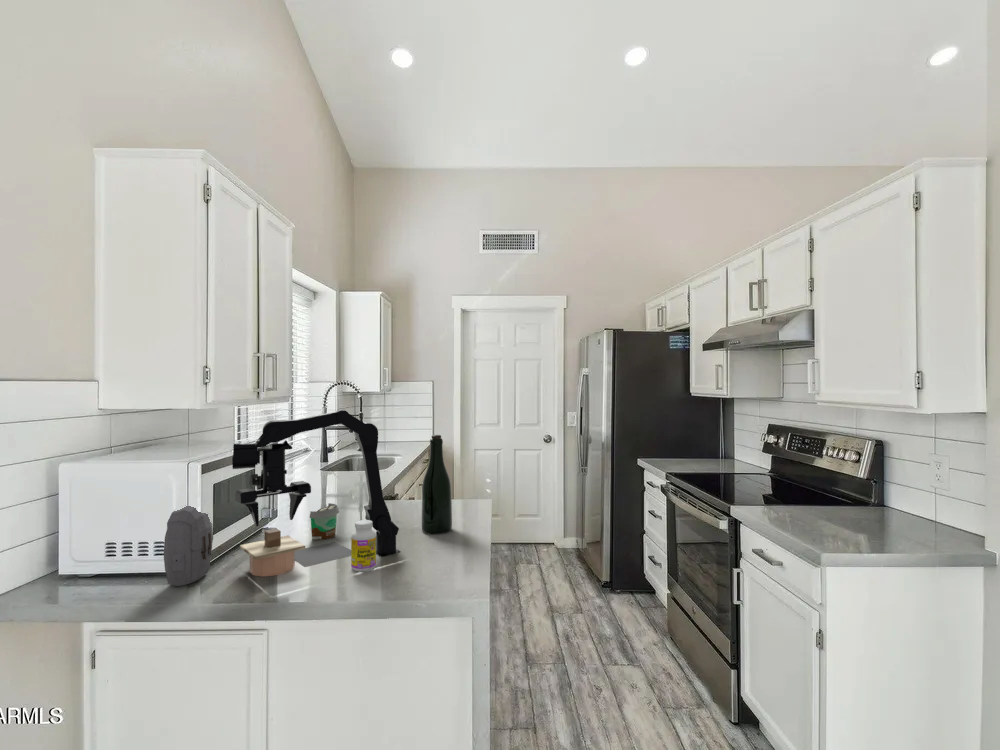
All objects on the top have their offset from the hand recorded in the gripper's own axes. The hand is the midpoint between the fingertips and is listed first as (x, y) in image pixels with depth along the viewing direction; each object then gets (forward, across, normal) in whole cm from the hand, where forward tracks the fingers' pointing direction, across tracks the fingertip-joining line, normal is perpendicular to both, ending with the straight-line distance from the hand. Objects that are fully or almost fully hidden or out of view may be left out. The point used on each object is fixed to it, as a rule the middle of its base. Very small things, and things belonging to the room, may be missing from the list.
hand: (274, 522), depth 145 cm
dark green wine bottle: (+13, -54, 0) cm, 56 cm away
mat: (+13, -14, -3) cm, 20 cm away
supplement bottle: (+13, -18, +16) cm, 28 cm away
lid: (+7, 0, 0) cm, 7 cm away
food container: (+13, -24, -18) cm, 32 cm away
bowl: (+13, +1, 0) cm, 13 cm away
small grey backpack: (+13, +19, -7) cm, 24 cm away
